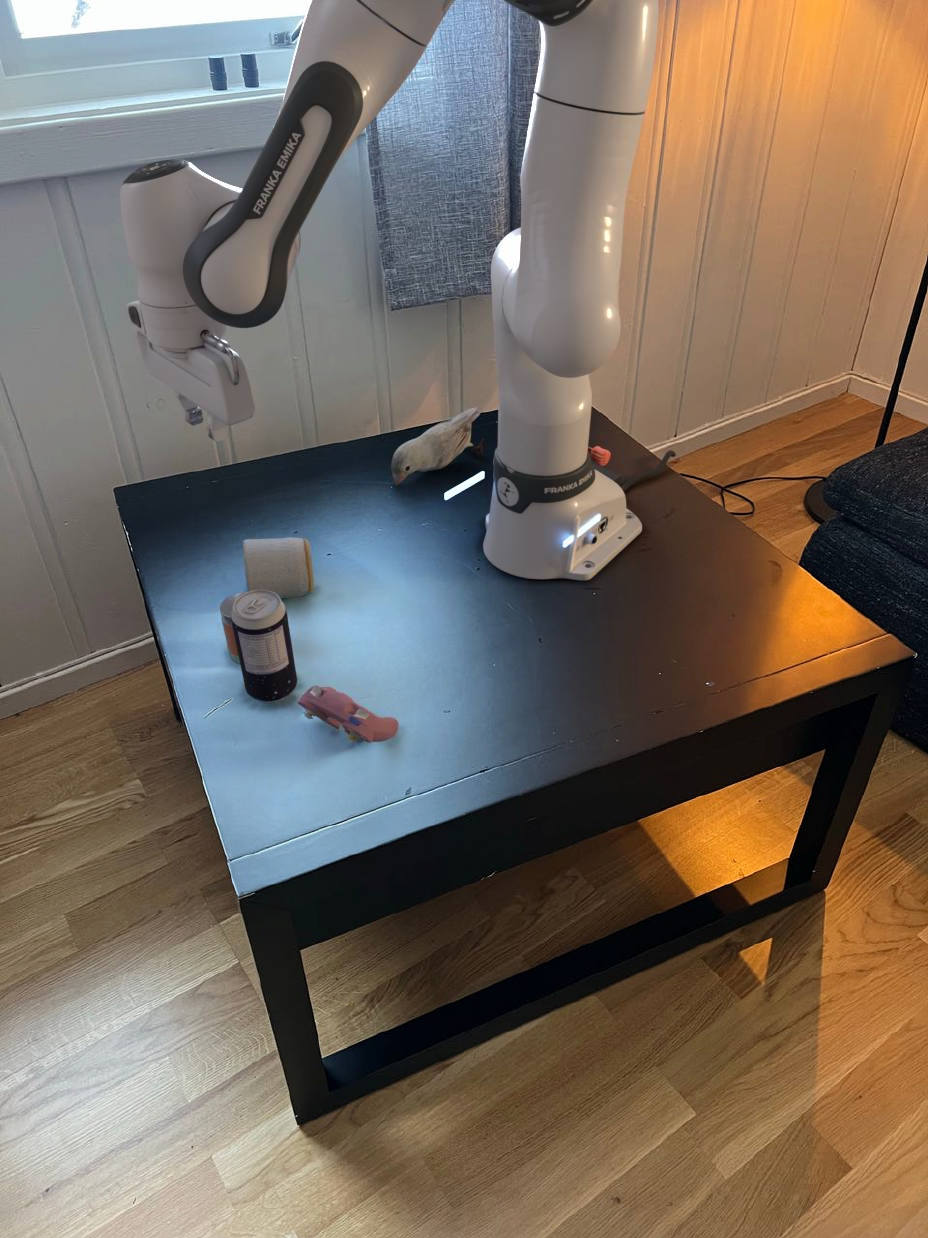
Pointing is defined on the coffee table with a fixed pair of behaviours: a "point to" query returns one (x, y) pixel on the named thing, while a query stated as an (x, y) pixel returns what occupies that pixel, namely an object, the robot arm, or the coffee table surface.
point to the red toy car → (347, 715)
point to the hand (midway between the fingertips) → (206, 430)
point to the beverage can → (264, 645)
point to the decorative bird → (435, 446)
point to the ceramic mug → (279, 566)
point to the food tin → (229, 626)
